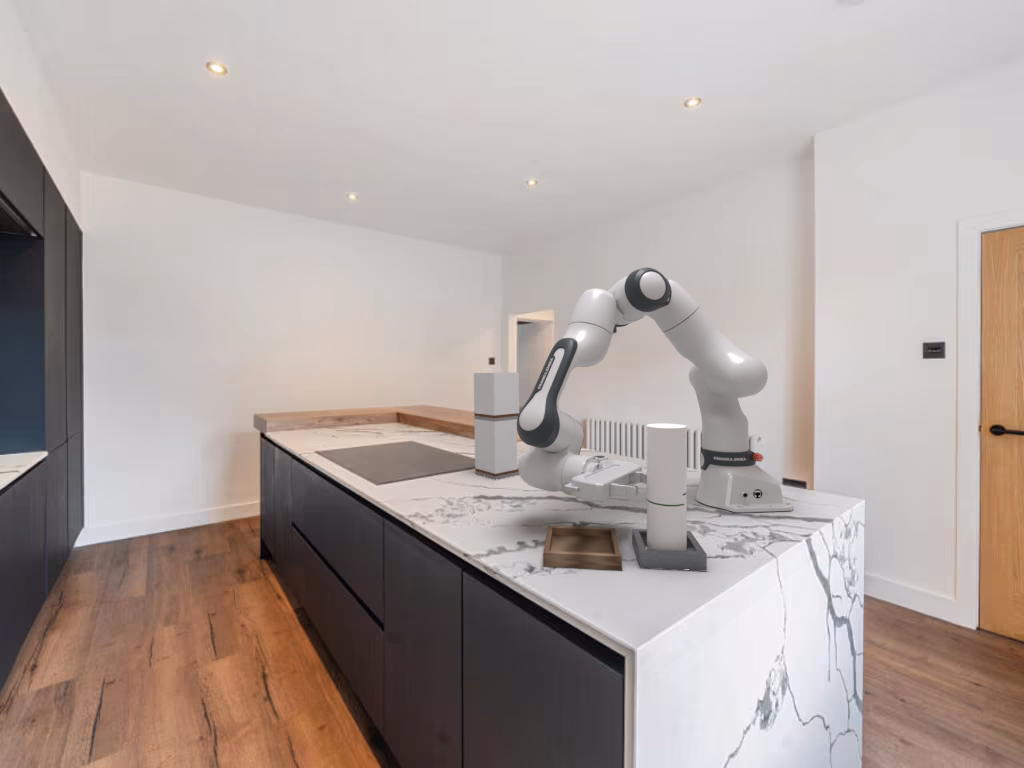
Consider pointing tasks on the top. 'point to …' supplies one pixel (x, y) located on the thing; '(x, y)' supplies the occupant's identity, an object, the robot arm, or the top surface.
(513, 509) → the top surface
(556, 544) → the walnut tray
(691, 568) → the gray square tray
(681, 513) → the cylindrical container
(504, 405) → the banded white pillar
